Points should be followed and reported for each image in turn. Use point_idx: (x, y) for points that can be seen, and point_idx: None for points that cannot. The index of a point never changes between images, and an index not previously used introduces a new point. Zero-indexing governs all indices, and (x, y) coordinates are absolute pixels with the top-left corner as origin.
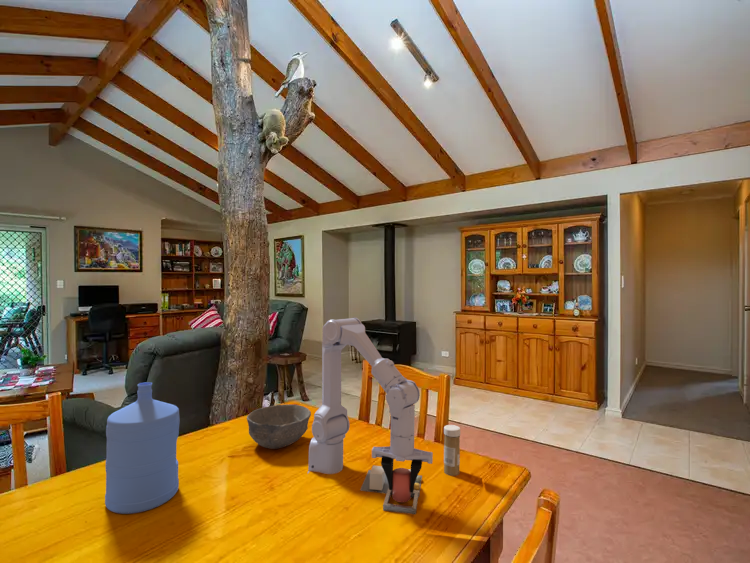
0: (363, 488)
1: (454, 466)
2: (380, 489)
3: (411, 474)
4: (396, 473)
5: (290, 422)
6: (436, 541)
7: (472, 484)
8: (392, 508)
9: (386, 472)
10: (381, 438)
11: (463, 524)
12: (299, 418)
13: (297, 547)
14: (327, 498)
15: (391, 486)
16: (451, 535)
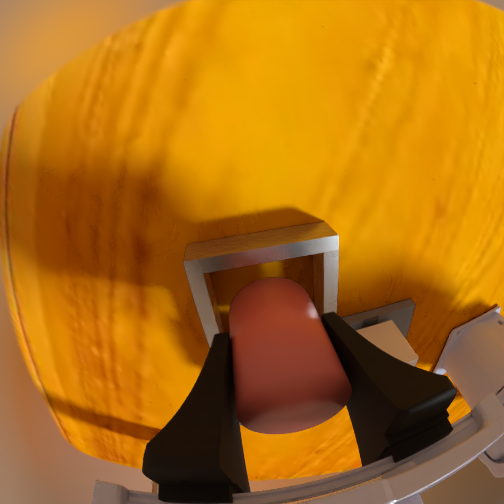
0: (406, 317)
1: None
2: (358, 332)
3: (218, 410)
4: (327, 389)
5: None
6: (74, 137)
7: (115, 421)
8: (293, 238)
9: (395, 364)
10: (354, 457)
11: (40, 270)
12: None
13: (472, 21)
14: (478, 237)
15: (331, 322)
16: (44, 197)
